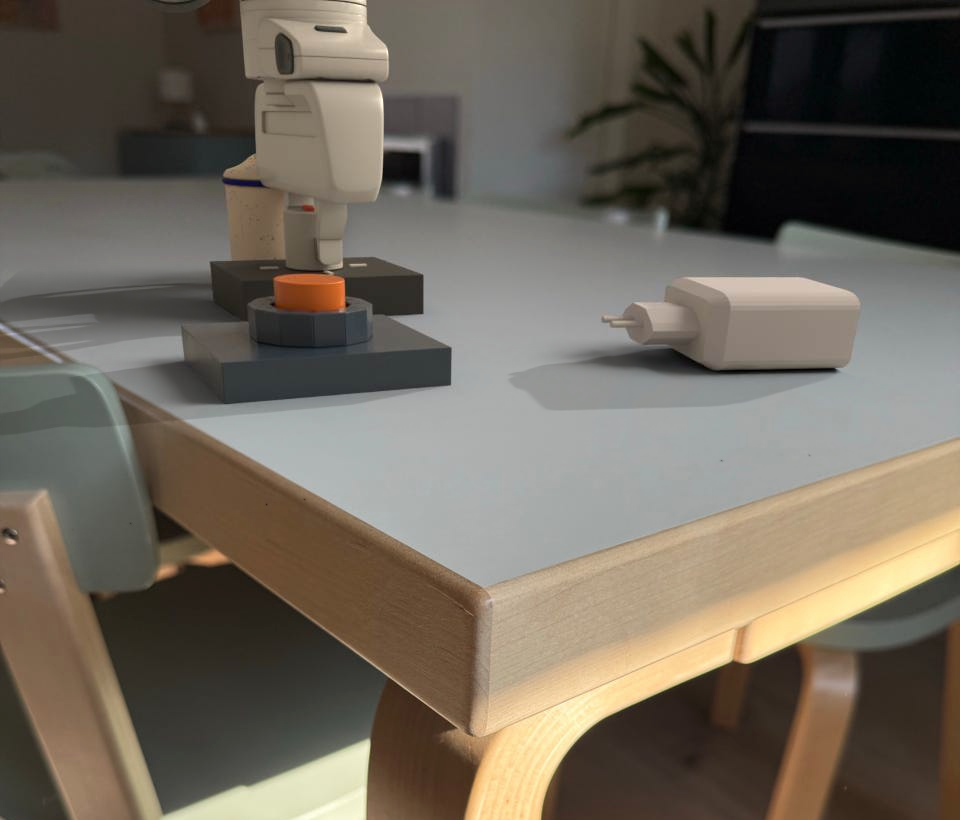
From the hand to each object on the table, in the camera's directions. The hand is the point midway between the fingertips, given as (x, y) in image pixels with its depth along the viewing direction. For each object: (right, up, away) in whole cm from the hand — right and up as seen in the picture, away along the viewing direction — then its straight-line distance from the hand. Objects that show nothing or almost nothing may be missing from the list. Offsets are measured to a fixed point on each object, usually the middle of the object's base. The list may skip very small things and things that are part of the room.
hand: (317, 258), depth 77 cm
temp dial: (0, -1, 0) cm, 1 cm away
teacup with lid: (-5, +3, +13) cm, 15 cm away
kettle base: (0, -3, +2) cm, 4 cm away
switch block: (+3, -14, -19) cm, 23 cm away
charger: (+28, -11, -11) cm, 32 cm away
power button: (+3, -11, -20) cm, 23 cm away
